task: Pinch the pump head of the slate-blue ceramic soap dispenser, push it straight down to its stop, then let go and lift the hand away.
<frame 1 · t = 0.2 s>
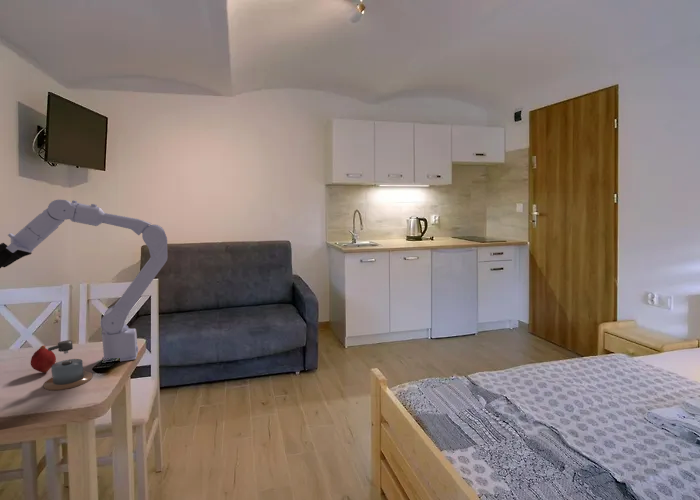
dispenser: (68, 381, 114), on the table
red round fruit: (44, 373, 120), on the table
pump head: (61, 349, 112), point 9 cm above the table, slide at 2.2 cm
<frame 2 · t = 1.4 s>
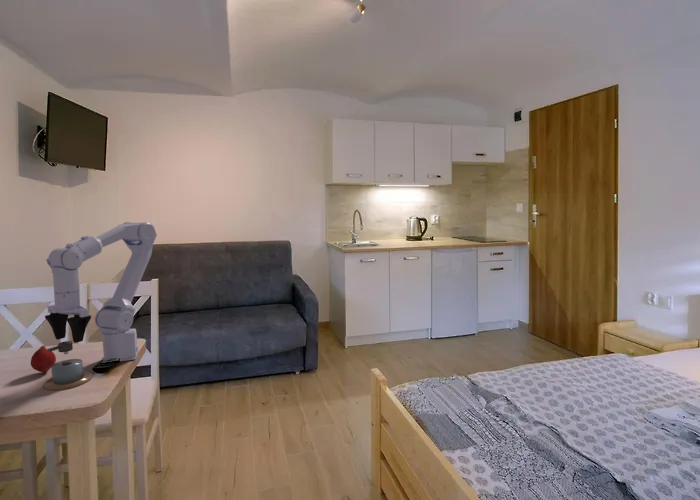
hand: (69, 340, 116), 10 cm above the table, tool pointing down, fingers open, 7 cm apart
nothing on the table moved.
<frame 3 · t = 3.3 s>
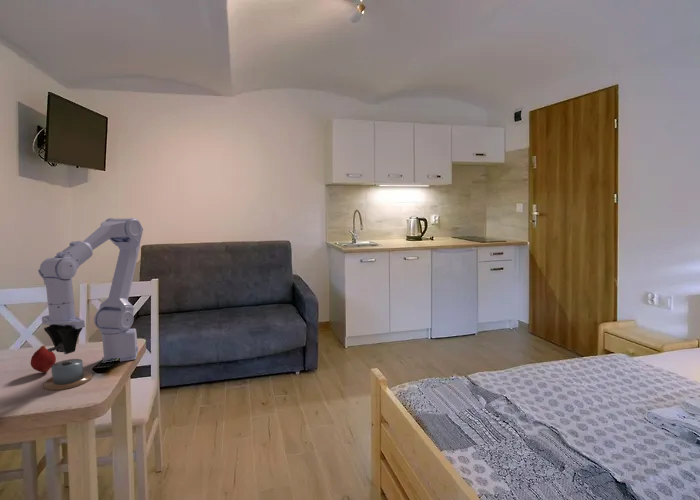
hand: (65, 351, 113), 8 cm above the table, tool pointing down, fingers closed on pump head, 3 cm apart
pump head: (61, 349, 112), point 9 cm above the table, slide at 2.0 cm, touching gripper
everything else where it was.
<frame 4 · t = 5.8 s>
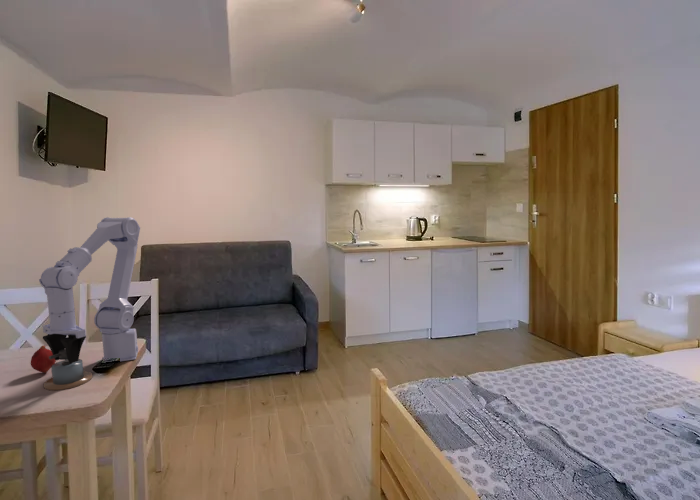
hand: (66, 360, 113), 6 cm above the table, tool pointing down, fingers open, 5 cm apart
pump head: (62, 357, 112), point 7 cm above the table, slide at -0.1 cm
everything else where it was.
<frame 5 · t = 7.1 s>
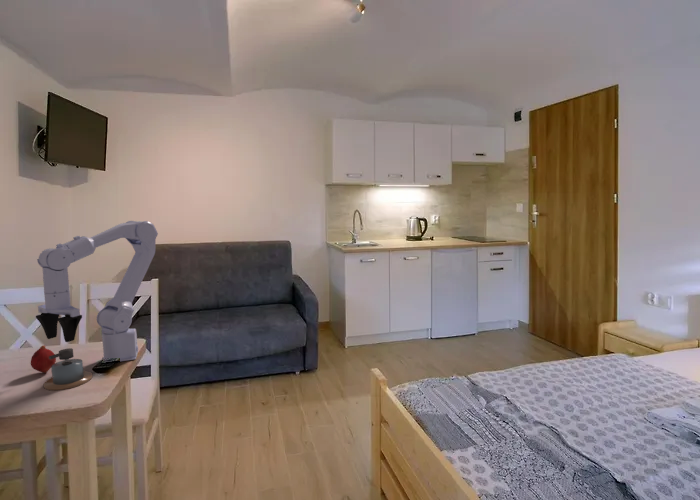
hand: (60, 339, 117), 10 cm above the table, tool pointing down, fingers open, 7 cm apart
nothing on the table moved.
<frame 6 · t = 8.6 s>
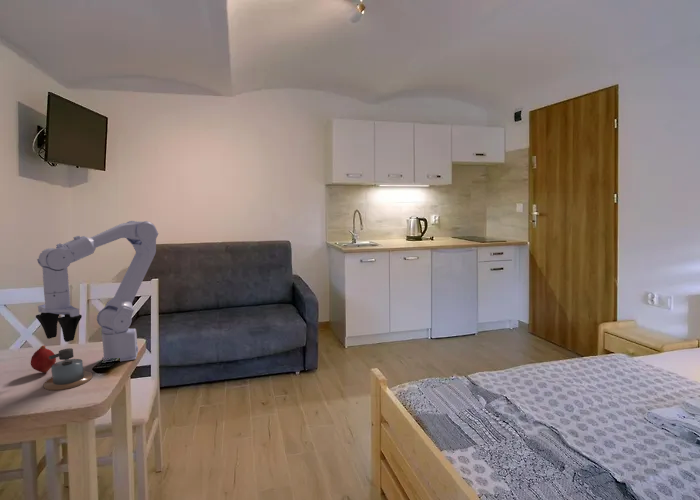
hand: (60, 339, 117), 10 cm above the table, tool pointing down, fingers open, 7 cm apart
nothing on the table moved.
at the end: pump head slide at -0.1 cm; the gripper is holding nothing; red round fruit moved 0.2 cm from its start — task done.
